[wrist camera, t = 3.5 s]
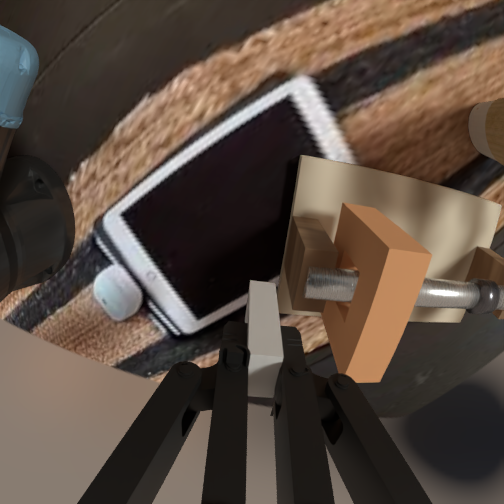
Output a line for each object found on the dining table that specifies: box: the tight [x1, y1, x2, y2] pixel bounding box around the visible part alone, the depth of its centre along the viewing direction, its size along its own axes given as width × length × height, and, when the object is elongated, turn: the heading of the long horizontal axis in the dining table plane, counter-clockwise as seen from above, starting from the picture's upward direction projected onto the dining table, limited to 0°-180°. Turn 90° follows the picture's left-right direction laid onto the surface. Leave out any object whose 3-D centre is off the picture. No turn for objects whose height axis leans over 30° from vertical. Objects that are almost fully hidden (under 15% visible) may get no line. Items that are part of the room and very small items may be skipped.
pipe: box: [302, 266, 504, 314], centre depth 23 cm, size 24×3×3 cm, turn 83°
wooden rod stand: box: [277, 155, 504, 322], centre depth 27 cm, size 25×16×9 cm, turn 83°
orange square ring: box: [320, 202, 432, 383], centre depth 22 cm, size 3×10×10 cm, turn 173°
